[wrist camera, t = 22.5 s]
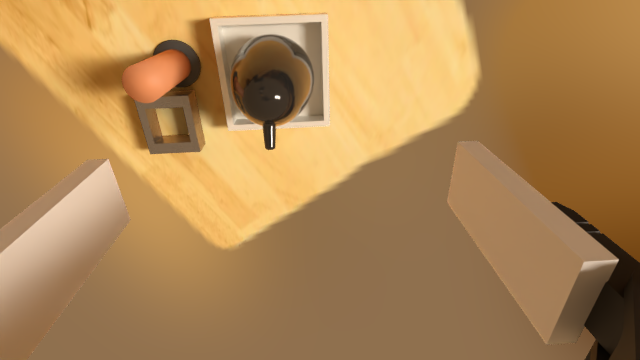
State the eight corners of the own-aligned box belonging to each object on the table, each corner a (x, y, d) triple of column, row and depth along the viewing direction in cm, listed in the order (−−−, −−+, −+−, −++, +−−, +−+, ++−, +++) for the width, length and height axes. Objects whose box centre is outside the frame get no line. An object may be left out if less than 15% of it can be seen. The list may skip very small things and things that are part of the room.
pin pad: (148, 40, 44) (147, 41, 44) (195, 39, 44) (194, 39, 44) (160, 87, 47) (159, 88, 47) (204, 85, 47) (203, 86, 47)
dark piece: (241, 110, 48) (219, 156, 35) (232, 31, 43) (202, 48, 30) (313, 109, 49) (318, 153, 36) (312, 30, 44) (318, 47, 30)
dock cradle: (215, 16, 43) (209, 18, 40) (326, 12, 44) (327, 14, 41) (232, 122, 50) (228, 130, 47) (328, 118, 50) (329, 126, 48)
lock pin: (156, 49, 44) (116, 64, 35) (187, 48, 44) (157, 64, 35) (163, 80, 46) (127, 103, 37) (193, 80, 46) (166, 102, 37)
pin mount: (142, 92, 47) (133, 98, 45) (194, 89, 47) (188, 95, 45) (158, 145, 51) (150, 154, 48) (205, 143, 51) (200, 151, 49)
